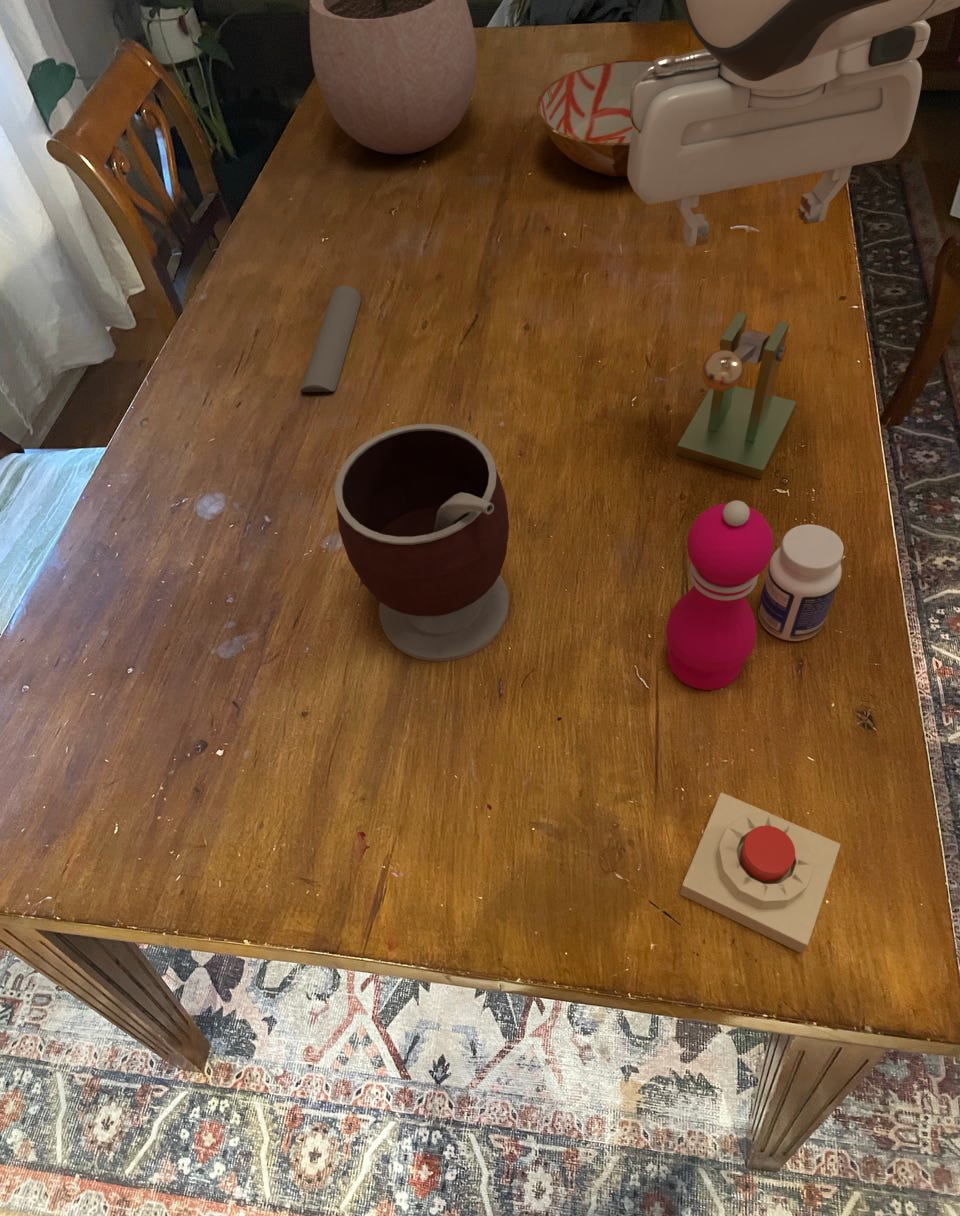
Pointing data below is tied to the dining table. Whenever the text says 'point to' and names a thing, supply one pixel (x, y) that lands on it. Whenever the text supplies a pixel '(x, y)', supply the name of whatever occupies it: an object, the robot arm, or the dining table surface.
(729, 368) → the lever
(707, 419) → the bracket
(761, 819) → the box
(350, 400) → the dining table surface
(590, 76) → the bowl
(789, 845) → the button
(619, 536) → the dining table surface
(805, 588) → the pill bottle
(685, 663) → the pepper mill
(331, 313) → the gray half cylinder
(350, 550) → the mate gourd
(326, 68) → the plant pot
